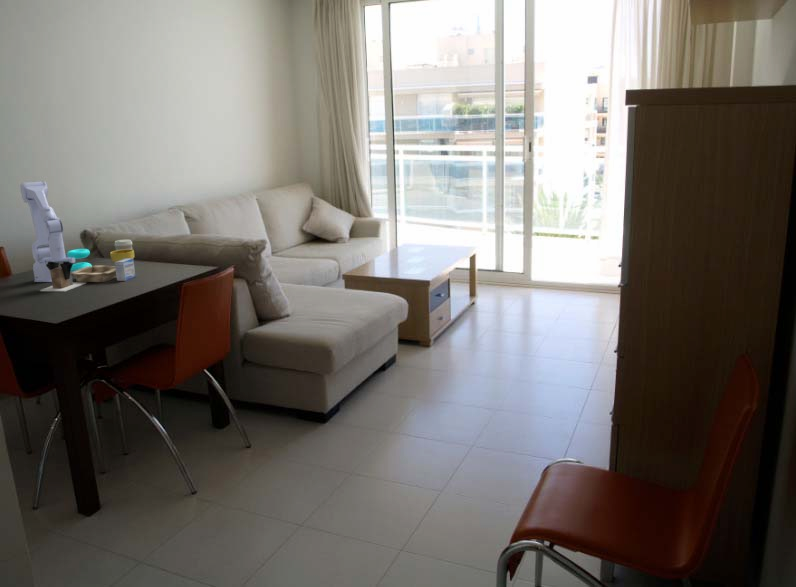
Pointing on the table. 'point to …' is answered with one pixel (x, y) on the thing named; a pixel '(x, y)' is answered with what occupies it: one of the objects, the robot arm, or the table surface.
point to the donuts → (77, 255)
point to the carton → (95, 273)
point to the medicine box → (125, 269)
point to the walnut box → (60, 278)
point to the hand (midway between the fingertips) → (62, 279)
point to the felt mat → (75, 284)
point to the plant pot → (122, 254)
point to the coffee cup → (123, 244)
